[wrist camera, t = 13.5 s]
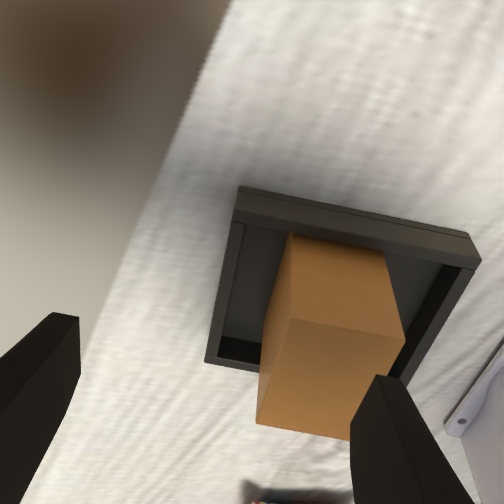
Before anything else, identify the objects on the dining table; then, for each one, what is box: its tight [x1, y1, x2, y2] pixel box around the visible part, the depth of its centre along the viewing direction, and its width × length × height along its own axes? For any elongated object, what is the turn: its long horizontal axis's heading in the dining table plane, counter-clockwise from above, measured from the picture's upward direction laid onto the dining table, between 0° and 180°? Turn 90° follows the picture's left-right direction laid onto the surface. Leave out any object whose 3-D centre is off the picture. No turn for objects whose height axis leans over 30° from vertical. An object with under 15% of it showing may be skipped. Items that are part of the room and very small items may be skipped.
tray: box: [204, 186, 482, 387], centre depth 22 cm, size 9×10×2 cm
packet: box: [256, 232, 405, 441], centre depth 20 cm, size 4×6×6 cm, turn 169°
